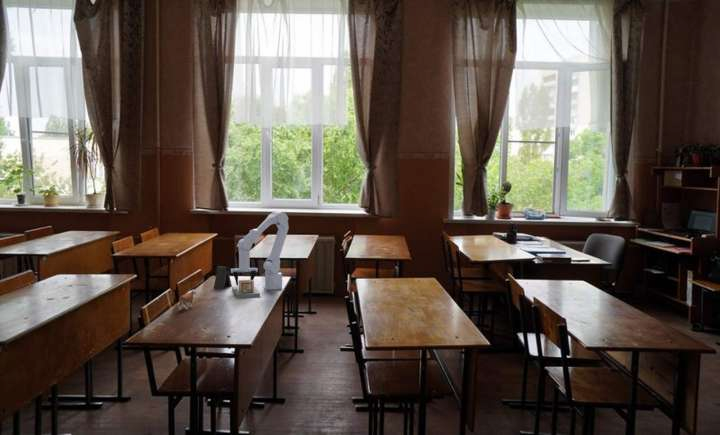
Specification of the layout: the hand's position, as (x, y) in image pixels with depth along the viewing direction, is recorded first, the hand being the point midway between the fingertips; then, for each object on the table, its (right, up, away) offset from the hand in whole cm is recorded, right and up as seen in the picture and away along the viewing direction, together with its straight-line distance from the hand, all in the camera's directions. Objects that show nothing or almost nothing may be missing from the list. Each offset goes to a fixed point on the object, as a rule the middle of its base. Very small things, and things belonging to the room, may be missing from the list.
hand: (244, 285), depth 321 cm
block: (+2, -2, -4) cm, 4 cm away
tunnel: (+2, -2, -6) cm, 7 cm away
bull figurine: (-20, -7, -37) cm, 43 cm away
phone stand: (-14, -3, +10) cm, 18 cm away
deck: (+2, -4, -4) cm, 6 cm away
